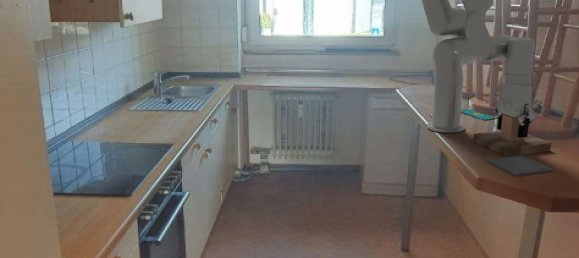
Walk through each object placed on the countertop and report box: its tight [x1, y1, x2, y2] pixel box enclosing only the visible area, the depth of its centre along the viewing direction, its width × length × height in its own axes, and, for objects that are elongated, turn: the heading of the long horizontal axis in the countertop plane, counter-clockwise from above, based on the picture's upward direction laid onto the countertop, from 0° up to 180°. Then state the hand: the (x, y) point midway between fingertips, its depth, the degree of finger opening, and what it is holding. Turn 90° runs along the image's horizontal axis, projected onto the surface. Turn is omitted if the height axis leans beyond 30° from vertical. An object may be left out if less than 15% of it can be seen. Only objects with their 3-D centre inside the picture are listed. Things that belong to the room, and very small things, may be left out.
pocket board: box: [472, 130, 552, 157], centre depth 158 cm, size 16×16×2 cm
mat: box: [486, 154, 554, 177], centre depth 141 cm, size 12×12×1 cm
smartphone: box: [461, 108, 494, 121], centre depth 195 cm, size 7×1×15 cm
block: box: [500, 114, 525, 142], centre depth 157 cm, size 4×4×10 cm
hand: (511, 133), depth 157 cm, fingers open, 9 cm apart
